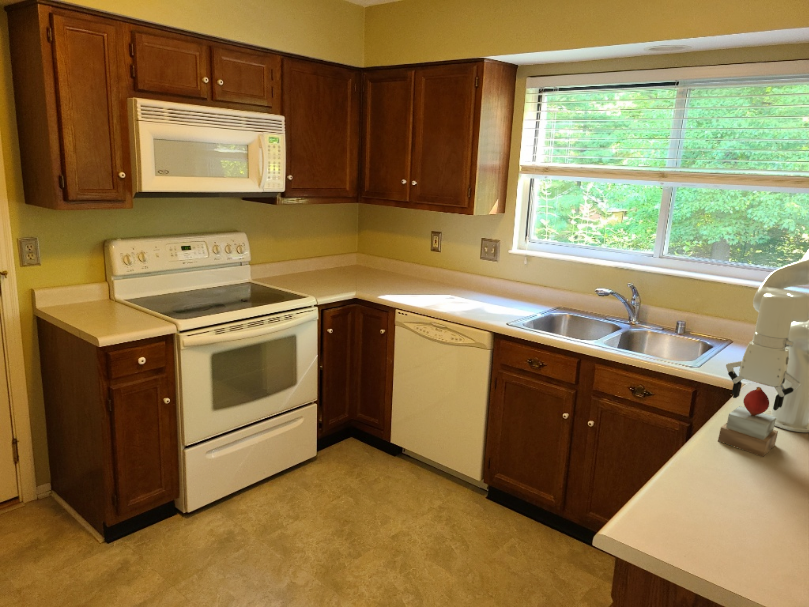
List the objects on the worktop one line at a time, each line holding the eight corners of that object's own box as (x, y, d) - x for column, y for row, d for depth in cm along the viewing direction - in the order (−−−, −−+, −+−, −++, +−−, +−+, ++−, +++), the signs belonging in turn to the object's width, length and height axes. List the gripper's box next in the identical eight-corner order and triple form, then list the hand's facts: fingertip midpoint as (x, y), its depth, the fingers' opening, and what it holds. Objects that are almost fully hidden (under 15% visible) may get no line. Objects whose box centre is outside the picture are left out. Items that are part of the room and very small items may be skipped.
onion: (757, 411, 164) (764, 384, 162) (770, 420, 158) (777, 392, 157) (736, 409, 164) (743, 382, 162) (748, 419, 158) (756, 390, 156)
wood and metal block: (731, 430, 170) (736, 403, 169) (774, 445, 163) (781, 417, 161) (717, 441, 163) (723, 413, 161) (763, 456, 155) (769, 428, 153)
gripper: (811, 347, 153) (796, 410, 157) (737, 330, 165) (725, 389, 169) (804, 352, 148) (788, 417, 152) (728, 334, 159) (716, 395, 163)
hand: (755, 402), depth 160 cm, fingers open, 9 cm apart
